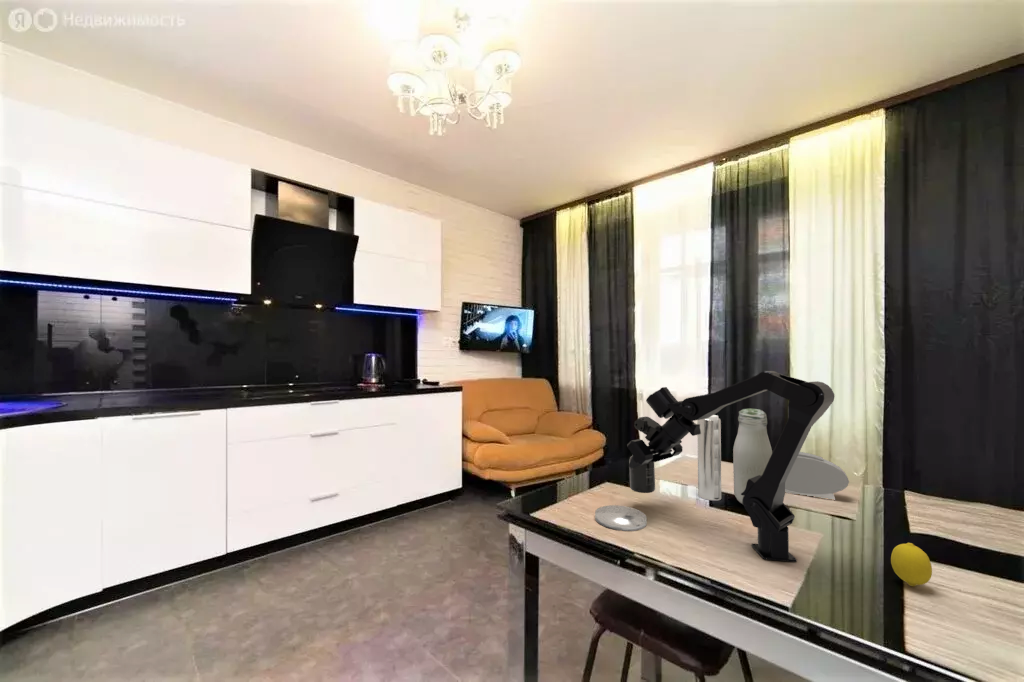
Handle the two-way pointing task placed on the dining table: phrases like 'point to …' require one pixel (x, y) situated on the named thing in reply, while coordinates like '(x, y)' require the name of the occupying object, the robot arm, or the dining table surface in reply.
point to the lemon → (911, 564)
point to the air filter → (709, 458)
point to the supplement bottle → (643, 477)
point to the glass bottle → (750, 449)
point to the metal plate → (620, 518)
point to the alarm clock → (815, 477)
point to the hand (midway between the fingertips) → (637, 465)
